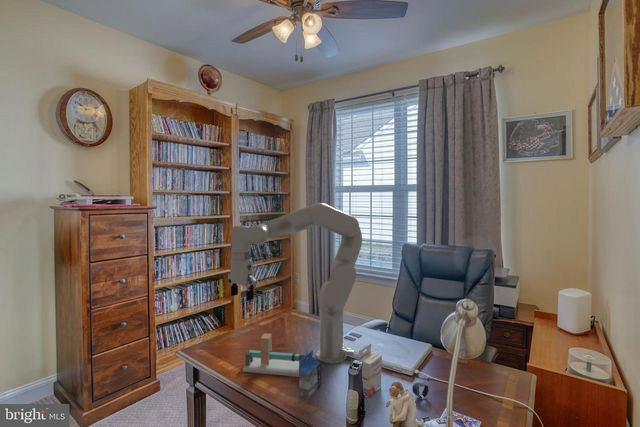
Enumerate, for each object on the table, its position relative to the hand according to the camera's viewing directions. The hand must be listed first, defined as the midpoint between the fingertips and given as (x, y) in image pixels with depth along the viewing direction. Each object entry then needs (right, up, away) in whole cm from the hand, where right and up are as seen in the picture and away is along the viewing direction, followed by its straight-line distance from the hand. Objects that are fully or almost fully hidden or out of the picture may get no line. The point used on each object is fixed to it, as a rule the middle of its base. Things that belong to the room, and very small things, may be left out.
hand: (242, 297), depth 133 cm
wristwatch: (+65, -27, -25) cm, 75 cm away
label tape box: (+29, -27, -21) cm, 45 cm away
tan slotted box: (+11, -23, -6) cm, 27 cm away
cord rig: (+15, -26, -6) cm, 30 cm away
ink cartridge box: (+49, -27, -20) cm, 60 cm away
